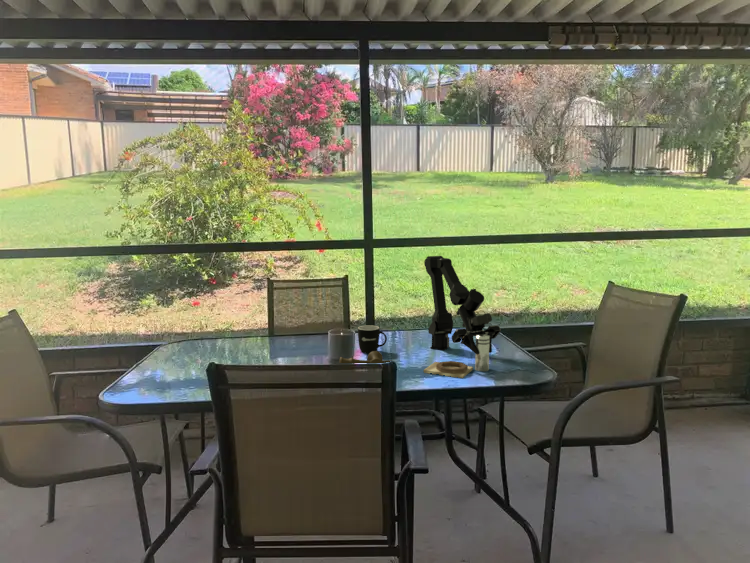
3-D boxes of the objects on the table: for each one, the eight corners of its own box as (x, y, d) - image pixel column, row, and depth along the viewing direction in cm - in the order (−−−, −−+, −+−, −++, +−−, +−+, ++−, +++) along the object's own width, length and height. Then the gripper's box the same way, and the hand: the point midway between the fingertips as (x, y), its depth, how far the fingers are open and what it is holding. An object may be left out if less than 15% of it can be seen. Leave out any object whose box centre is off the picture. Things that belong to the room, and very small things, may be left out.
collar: (423, 372, 220) (423, 366, 219) (435, 364, 230) (435, 357, 230) (462, 378, 213) (462, 371, 213) (472, 369, 224) (473, 362, 223)
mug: (357, 354, 244) (357, 330, 243) (358, 348, 253) (357, 325, 251) (387, 354, 244) (387, 330, 243) (386, 348, 253) (386, 325, 252)
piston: (473, 370, 223) (474, 336, 221) (477, 366, 227) (478, 333, 225) (486, 372, 220) (487, 337, 218) (490, 368, 225) (491, 334, 223)
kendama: (339, 367, 229) (391, 364, 230) (339, 375, 219) (394, 373, 220) (338, 352, 227) (391, 349, 229) (339, 360, 218) (393, 357, 219)
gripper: (456, 308, 220) (470, 344, 212) (499, 304, 227) (515, 339, 219) (445, 324, 229) (459, 360, 220) (487, 320, 236) (502, 354, 227)
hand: (484, 353), depth 221 cm, fingers open, 5 cm apart
